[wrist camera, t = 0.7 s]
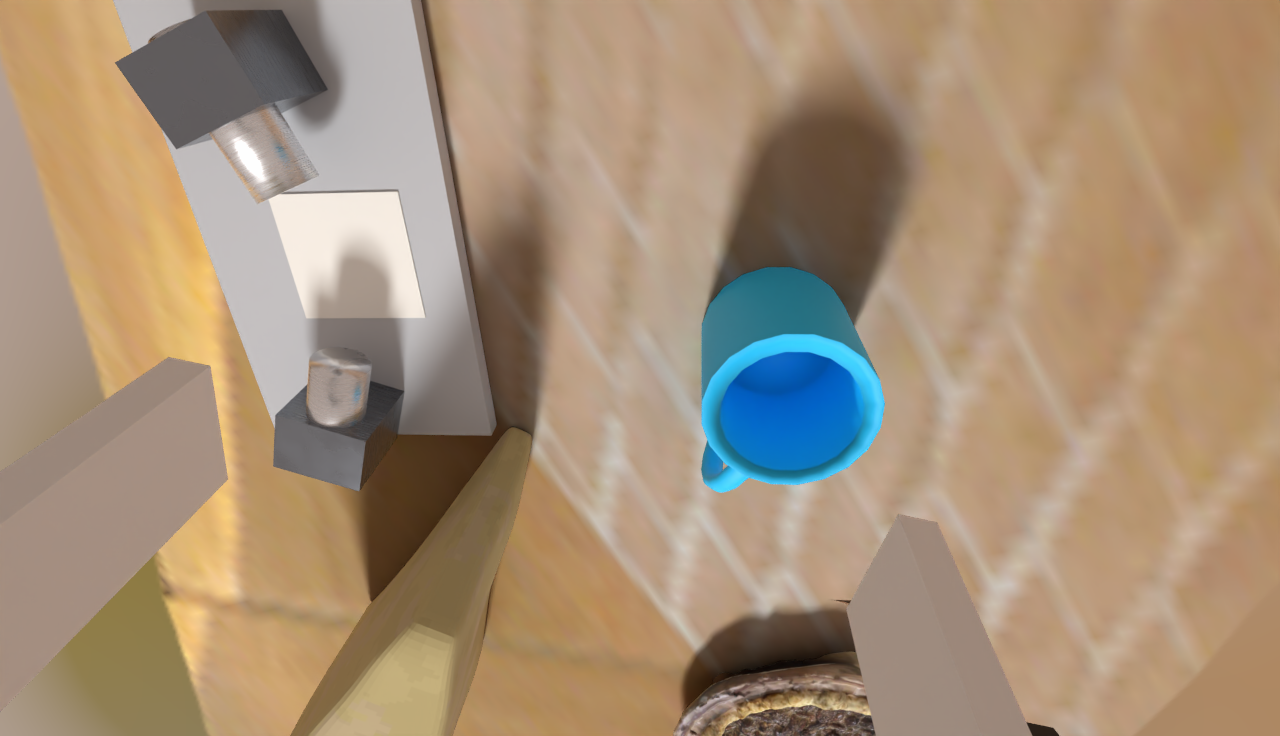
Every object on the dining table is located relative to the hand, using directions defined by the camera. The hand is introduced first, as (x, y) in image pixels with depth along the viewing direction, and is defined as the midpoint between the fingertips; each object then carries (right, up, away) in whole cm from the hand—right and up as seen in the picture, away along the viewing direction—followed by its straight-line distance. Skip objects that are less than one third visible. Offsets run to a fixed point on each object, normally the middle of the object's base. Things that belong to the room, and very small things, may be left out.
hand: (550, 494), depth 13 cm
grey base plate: (-15, +9, +23) cm, 29 cm away
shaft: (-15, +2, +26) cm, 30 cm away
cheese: (-10, -10, +34) cm, 37 cm away
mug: (+8, +3, +25) cm, 27 cm away
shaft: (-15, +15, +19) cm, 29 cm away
